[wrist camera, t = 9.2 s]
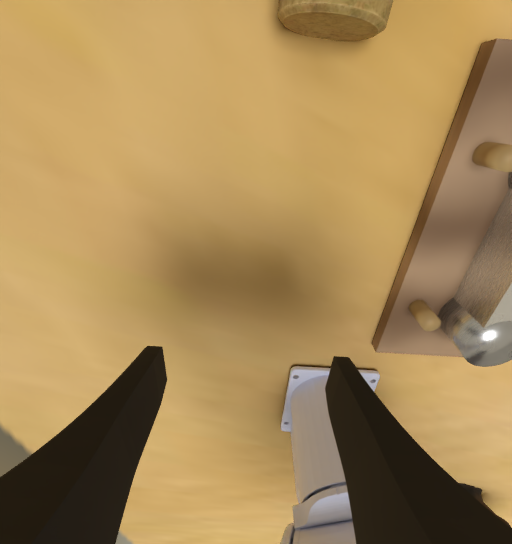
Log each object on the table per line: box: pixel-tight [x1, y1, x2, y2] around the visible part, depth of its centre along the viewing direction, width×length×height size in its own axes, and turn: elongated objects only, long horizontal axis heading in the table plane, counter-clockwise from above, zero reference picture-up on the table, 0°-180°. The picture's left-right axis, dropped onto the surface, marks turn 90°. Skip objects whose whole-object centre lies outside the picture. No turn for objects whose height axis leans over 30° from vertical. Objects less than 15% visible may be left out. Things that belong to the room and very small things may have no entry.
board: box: [372, 39, 512, 357], centre depth 18 cm, size 20×11×3 cm, turn 176°
